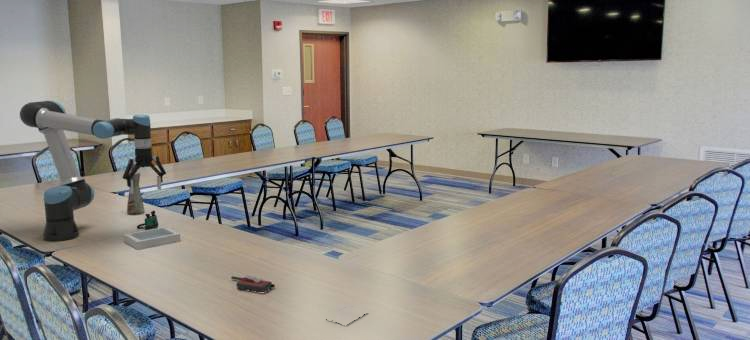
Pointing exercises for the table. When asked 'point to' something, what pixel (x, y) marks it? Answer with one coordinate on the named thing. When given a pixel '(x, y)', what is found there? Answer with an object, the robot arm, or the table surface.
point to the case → (151, 237)
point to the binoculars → (149, 222)
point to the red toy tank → (253, 284)
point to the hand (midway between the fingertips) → (145, 191)
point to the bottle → (135, 196)
